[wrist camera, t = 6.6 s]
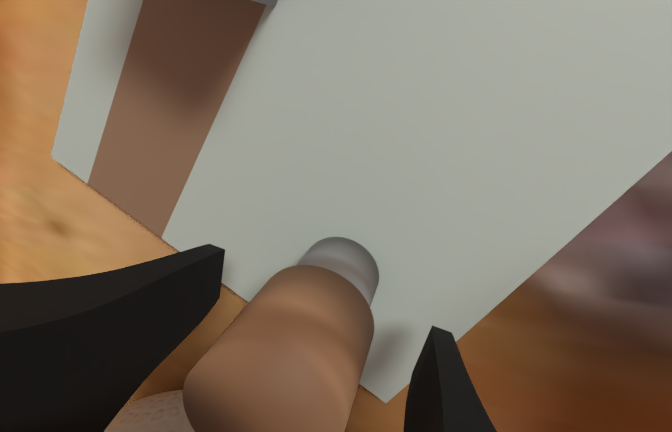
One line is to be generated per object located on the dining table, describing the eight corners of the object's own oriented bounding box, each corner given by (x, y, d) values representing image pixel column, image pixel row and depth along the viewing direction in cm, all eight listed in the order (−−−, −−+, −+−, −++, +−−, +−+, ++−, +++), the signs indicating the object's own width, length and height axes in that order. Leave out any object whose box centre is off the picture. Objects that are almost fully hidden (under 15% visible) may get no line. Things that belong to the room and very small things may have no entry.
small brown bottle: (410, 268, 14) (372, 434, 8) (353, 331, 16) (285, 508, 10) (325, 206, 14) (220, 322, 8) (277, 275, 16) (161, 415, 10)
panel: (1000, -160, 8) (1040, -176, 7) (388, 392, 17) (386, 403, 17) (270, -657, 8) (256, -708, 8) (63, 153, 18) (50, 156, 17)
